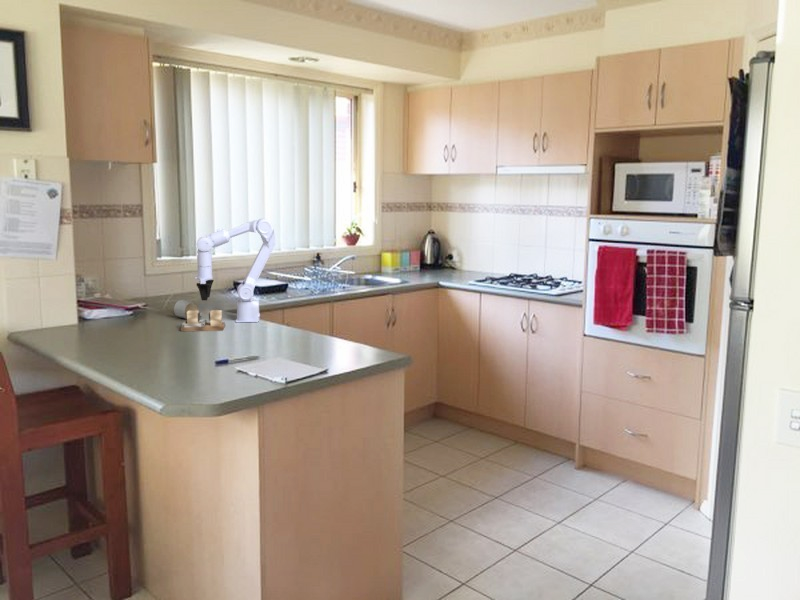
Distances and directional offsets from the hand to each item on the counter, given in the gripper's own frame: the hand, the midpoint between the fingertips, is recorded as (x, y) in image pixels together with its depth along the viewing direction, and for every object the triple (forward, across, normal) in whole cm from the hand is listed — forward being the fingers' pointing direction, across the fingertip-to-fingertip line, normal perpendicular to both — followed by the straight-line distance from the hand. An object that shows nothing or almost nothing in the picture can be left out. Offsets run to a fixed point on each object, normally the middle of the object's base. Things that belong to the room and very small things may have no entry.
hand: (205, 298), depth 283 cm
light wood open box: (+10, +13, 0) cm, 16 cm away
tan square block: (+8, +13, -3) cm, 16 cm away
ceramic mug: (+10, -10, -8) cm, 17 cm away
